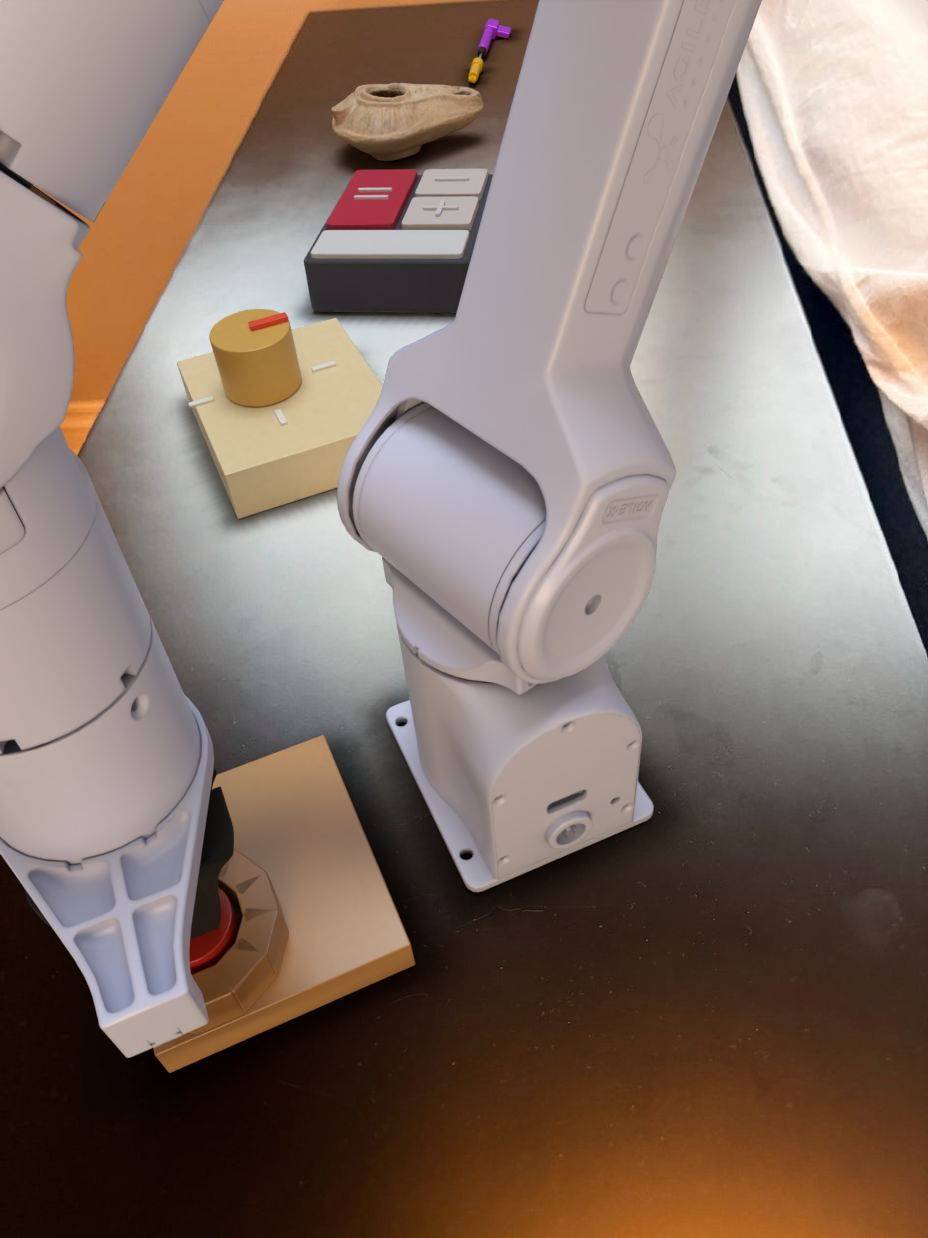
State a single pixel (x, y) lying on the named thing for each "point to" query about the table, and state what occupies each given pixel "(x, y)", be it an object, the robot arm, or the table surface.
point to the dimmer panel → (286, 421)
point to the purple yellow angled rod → (486, 46)
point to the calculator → (398, 242)
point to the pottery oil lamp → (403, 116)
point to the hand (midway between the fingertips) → (186, 922)
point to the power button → (215, 938)
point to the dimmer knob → (256, 357)
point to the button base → (293, 903)
